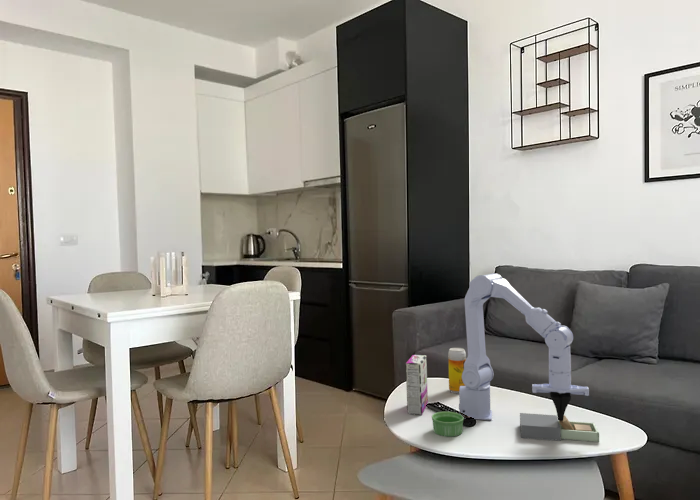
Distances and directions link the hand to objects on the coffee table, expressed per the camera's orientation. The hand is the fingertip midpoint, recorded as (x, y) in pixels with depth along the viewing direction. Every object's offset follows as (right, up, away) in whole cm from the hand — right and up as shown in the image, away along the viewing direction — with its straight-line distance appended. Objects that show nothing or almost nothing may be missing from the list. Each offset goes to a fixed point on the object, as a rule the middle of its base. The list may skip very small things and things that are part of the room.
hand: (560, 419), depth 146 cm
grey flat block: (-5, -4, +2) cm, 7 cm away
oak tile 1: (+1, -2, 0) cm, 2 cm away
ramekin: (-30, -5, +4) cm, 31 cm away
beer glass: (-20, -4, +42) cm, 46 cm away
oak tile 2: (+6, -2, -1) cm, 6 cm away
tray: (+4, -4, -1) cm, 6 cm away
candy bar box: (-37, -5, +24) cm, 44 cm away
